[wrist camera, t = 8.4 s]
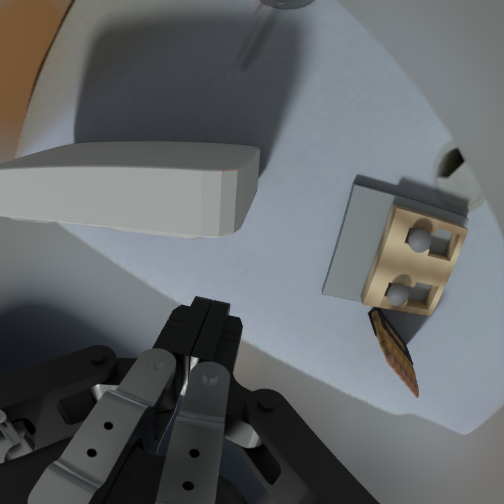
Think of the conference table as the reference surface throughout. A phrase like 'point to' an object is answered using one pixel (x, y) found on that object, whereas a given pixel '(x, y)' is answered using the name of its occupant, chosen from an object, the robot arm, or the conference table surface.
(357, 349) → the conference table surface
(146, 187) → the rounded white slab
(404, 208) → the beech panel
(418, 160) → the conference table surface
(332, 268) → the board
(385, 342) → the ammunition clip
